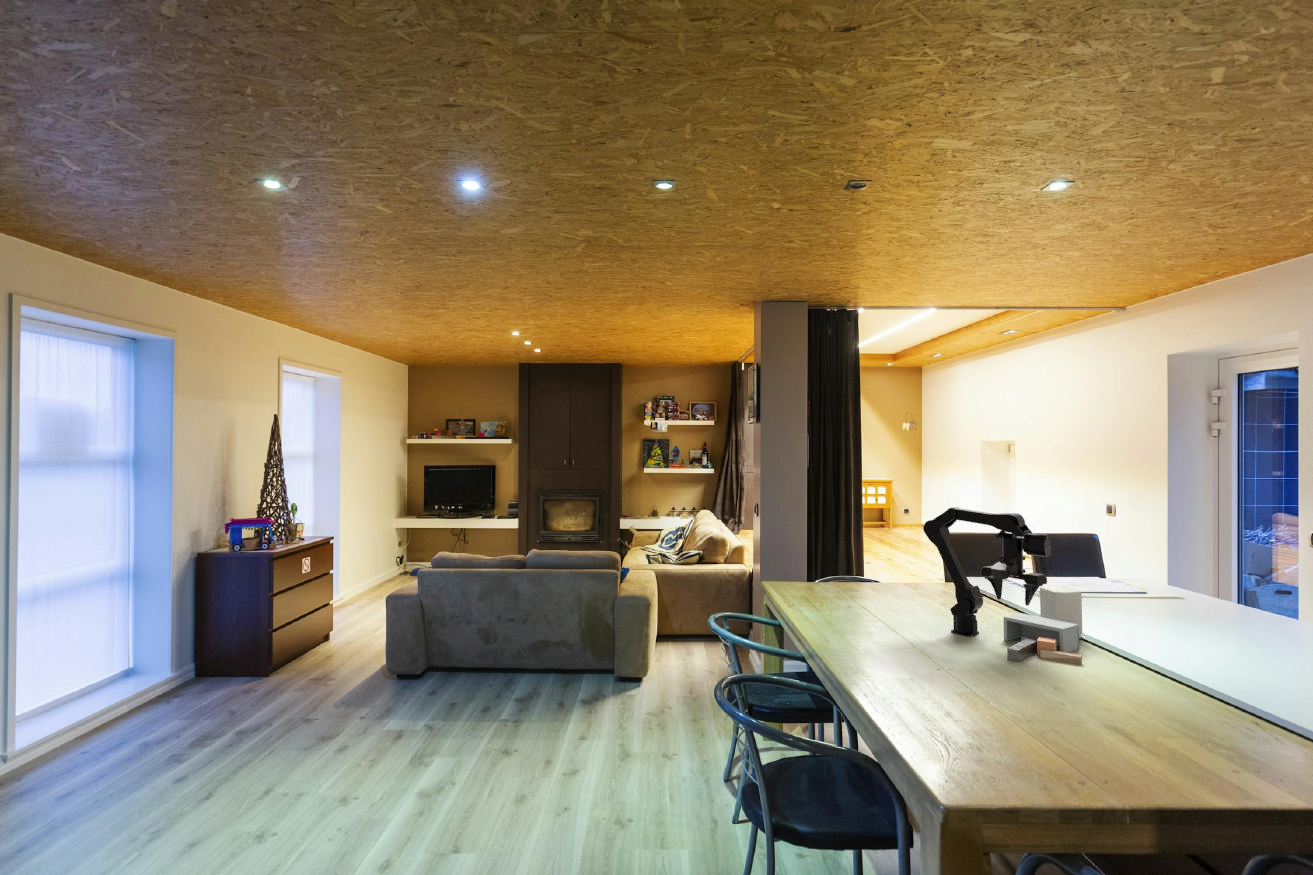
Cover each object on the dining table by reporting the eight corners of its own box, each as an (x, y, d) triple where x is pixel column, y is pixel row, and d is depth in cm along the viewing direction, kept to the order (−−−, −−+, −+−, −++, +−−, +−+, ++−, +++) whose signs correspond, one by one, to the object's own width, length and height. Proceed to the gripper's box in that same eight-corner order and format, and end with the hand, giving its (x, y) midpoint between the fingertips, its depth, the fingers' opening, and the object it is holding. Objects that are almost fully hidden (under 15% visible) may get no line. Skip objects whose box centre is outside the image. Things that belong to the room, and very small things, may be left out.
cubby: (1003, 640, 211) (1003, 616, 211) (1020, 635, 216) (1019, 612, 216) (1063, 654, 196) (1062, 628, 196) (1079, 649, 201) (1078, 624, 201)
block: (1037, 655, 195) (1036, 640, 195) (1039, 651, 199) (1038, 636, 199) (1054, 658, 192) (1054, 642, 193) (1056, 654, 196) (1056, 639, 196)
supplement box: (1083, 638, 212) (1082, 592, 213) (1055, 638, 212) (1054, 592, 213) (1066, 631, 221) (1065, 586, 222) (1039, 631, 221) (1038, 586, 222)
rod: (1081, 665, 186) (1080, 656, 186) (1040, 659, 192) (1040, 650, 192) (1082, 663, 188) (1081, 654, 188) (1041, 657, 194) (1041, 648, 194)
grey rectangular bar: (1026, 664, 187) (1025, 651, 187) (1000, 658, 192) (1000, 646, 193) (1048, 651, 199) (1047, 640, 199) (1023, 646, 204) (1022, 635, 204)
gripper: (969, 550, 213) (970, 599, 213) (1026, 559, 197) (1027, 611, 197) (990, 548, 219) (991, 595, 218) (1047, 556, 203) (1048, 607, 202)
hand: (1012, 602), depth 209 cm, fingers open, 9 cm apart
